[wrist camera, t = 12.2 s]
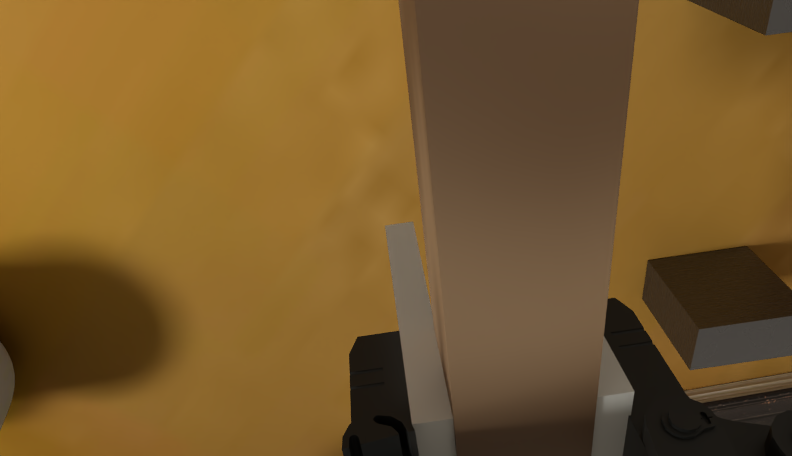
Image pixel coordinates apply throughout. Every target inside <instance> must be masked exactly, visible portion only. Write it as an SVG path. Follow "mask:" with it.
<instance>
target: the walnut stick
mask: <svg viewBox="0 0 792 456" xmlns="http://www.w3.org/2000/svg"><path fill="white" fill-rule="evenodd" d="M638 4H639V0H399V8H400V18H401V27H402V36H403V46H404V55H405V64H406V73H407V83H408V92H409V101H410V110H411V120H412V129H413V138H414V148H415V157H416V166H417V175H418V185H419V194H420V203H421V212H422V222H423V231H424V240H425V249H426V259H427V268H428V277H429V287H430V296H431V305H432V314H433V324H434V330H435V335H436V340H437V344H438V349H439V354H440V359H441V364H442V368H443V373H444V378H445V383H446V388H447V392H448V397H449V402H450V407H451V411H452V416H453V424H454V435H455V445H456V456H591V453H592V444H593V434H594V425H595V415H596V405H597V396H598V386H599V377H600V367H601V358H602V348H603V338H604V329H605V319H606V310H607V300H608V291H609V281H610V272H611V262H612V252H613V243H614V233H615V224H616V214H617V205H618V195H619V186H620V176H621V166H622V157H623V147H624V138H625V128H626V119H627V109H628V99H629V90H630V80H631V71H632V61H633V52H634V42H635V33H636V23H637V13H638Z"/></svg>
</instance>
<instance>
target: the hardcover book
mask: <svg viewBox="0 0 792 456" xmlns="http://www.w3.org/2000/svg"><path fill="white" fill-rule="evenodd" d="M685 393H686V394H687V395H688V397H689V398H690V399H693V400H696V401H698V402H700V403H702V404H703V405H705V406H706V407H708V408H709V409H710V410H712V411H713V412H714V414H715V415H716V416H717V417H720V418H723V419H727V420H732V421H737V422H745V423H753V424H761V425H769V426H771V424H772V422H773V421H774V419H775V417H776V416H777V415H779V414H781V413H783V412H785V411H786V410H792V372H791V373H785V374H779V375H773V376H768V377H762V378H756V379H750V380H745V381H739V382H733V383H727V384H721V385H716V386H710V387H704V388H698V389H693V390H687V391H685Z"/></svg>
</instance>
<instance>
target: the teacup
mask: <svg viewBox="0 0 792 456" xmlns="http://www.w3.org/2000/svg"><path fill="white" fill-rule="evenodd" d="M14 387H15V373H14V368H13V364H12V361H11V359H10V357H9V354H8V352H7V351H6V349H5V347H4V346H3V345H2V343H1V342H0V429H1V427H2V425H3V422H4V420H5V417H6V415H7V412H8V410H9V407H10V404H11V401H12V397H13V393H14Z"/></svg>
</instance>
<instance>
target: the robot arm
mask: <svg viewBox="0 0 792 456" xmlns="http://www.w3.org/2000/svg"><path fill="white" fill-rule="evenodd" d="M385 229H386V236H387V243H388V251H389V258H390V266H391V273H392V280H393V288H394V295H395V303H396V310H397V317H398V325H399V331H395V332H388V333H381V334H374V335H367V336H361V337H357V339H356V341H355V343H354V345H353V347H352V349H351V352H350V354H349V363H350V389H351V391H350V396H351V424H350V425H349V426H348V428H347V430H346V432H345V434H344V436H343V441H342V451H343V455H344V456H456V445H455V435H454V424H453V416H452V411H451V407H450V402H449V397H448V392H447V388H446V383H445V378H444V373H443V368H442V364H441V359H440V354H439V349H438V344H437V340H436V335H435V330H434V324H433V314H432V310H431V305H430V300H429V295H428V291H427V286H426V281H425V276H424V272H423V267H422V262H421V257H420V253H419V248H418V243H417V238H416V234H415V229H414V224H413V222H408V223H401V224H394V225H387V226H385ZM591 456H792V410H786V411H785V412H783V413H781V414H779V415H777V416H776V417H775V419H774V421H773V422H772V424H771V426H769V425H761V424H753V423H745V422H737V421H732V420H727V419H723V418H720V417H717V416H716V415H715V414H714V412H713V411H712V410H710V409H709V408H708V407H706V406H705V405H703V404H702V403H700V402H698V401H696V400H693V399H690V398H689V397H688V395H687V394H686V393H685V391H684V390H683V388H682V387H681V385H680V384H679V382H678V381H677V379H676V377H675V376H674V374H673V373H672V371H671V370H670V368H669V367H668V365H667V363H666V362H665V360H664V359H663V357H662V356H661V354H660V352H659V351H658V349H657V348H656V346H655V345H653V344H652V340H651V338H650V337H649V335H648V334H647V332H646V331H644V328H643V326H642V324H641V323H640V321H639V320H638V318H637V317H636V315H635V313H634V312H633V311H632V310H631V309H629V308H628V307H627V306H625V305H624V304H623V303H621V302H620V301H619V300H617V299H616V298H610V299H608V300H607V310H606V319H605V329H604V338H603V348H602V358H601V367H600V377H599V386H598V396H597V405H596V415H595V425H594V434H593V444H592V453H591Z"/></svg>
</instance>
